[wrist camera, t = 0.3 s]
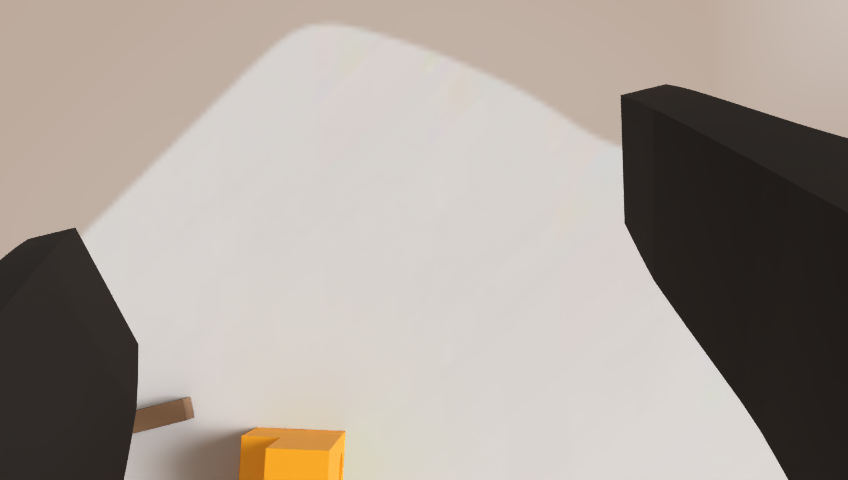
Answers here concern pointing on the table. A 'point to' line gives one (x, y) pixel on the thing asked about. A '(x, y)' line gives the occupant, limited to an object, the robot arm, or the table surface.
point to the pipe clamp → (292, 454)
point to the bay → (163, 415)
